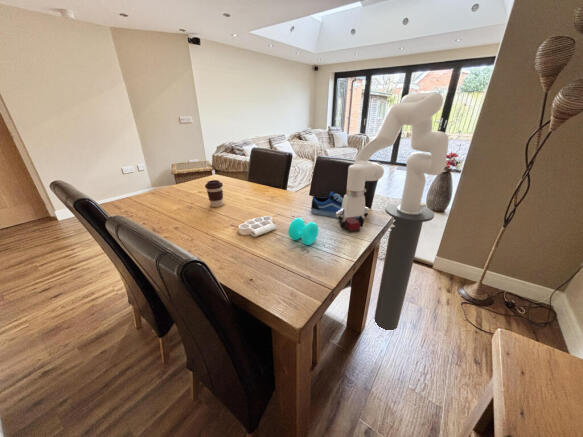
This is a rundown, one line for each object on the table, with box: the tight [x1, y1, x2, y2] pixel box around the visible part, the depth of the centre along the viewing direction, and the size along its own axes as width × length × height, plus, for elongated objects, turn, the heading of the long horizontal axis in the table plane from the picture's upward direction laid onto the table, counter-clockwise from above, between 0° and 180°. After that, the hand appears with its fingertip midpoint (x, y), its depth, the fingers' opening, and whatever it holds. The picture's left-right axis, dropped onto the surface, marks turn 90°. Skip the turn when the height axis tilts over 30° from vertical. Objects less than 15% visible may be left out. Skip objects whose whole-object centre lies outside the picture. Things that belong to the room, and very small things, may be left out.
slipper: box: [338, 217, 361, 234], centre depth 114 cm, size 12×5×4 cm, turn 14°
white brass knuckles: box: [238, 215, 277, 238], centre depth 113 cm, size 3×18×15 cm
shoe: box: [310, 191, 366, 220], centre depth 125 cm, size 11×30×12 cm, turn 71°
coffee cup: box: [204, 179, 224, 208], centre depth 141 cm, size 10×10×15 cm
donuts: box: [288, 217, 319, 246], centre depth 101 cm, size 10×10×10 cm
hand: (351, 226), depth 112 cm, fingers open, 8 cm apart
